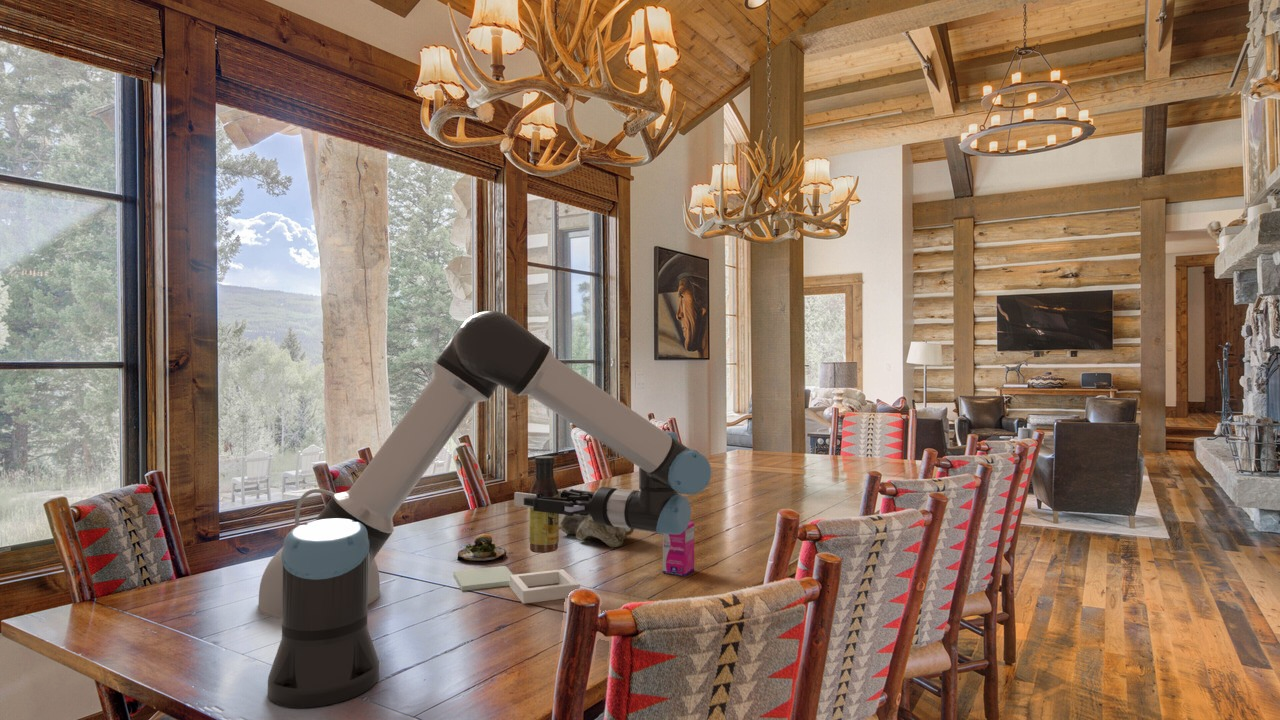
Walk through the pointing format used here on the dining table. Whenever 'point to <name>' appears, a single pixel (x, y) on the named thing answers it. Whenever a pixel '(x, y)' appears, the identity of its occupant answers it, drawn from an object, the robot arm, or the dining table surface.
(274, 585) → the kettle
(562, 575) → the pocket frame
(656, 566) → the dining table surface
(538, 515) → the sauce bottle
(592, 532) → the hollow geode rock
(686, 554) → the supplement box
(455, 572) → the plate
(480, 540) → the burger
